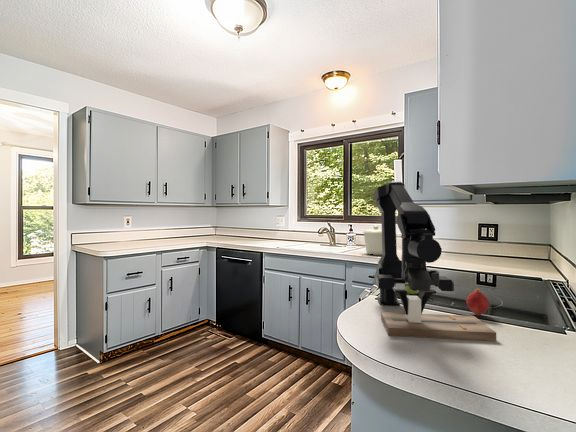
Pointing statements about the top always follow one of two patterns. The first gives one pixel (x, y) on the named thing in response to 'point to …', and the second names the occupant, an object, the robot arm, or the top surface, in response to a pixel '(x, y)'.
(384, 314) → the fader console
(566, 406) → the top surface
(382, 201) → the robot arm
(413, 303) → the fader knob
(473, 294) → the onion
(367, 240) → the canister
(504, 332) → the top surface
